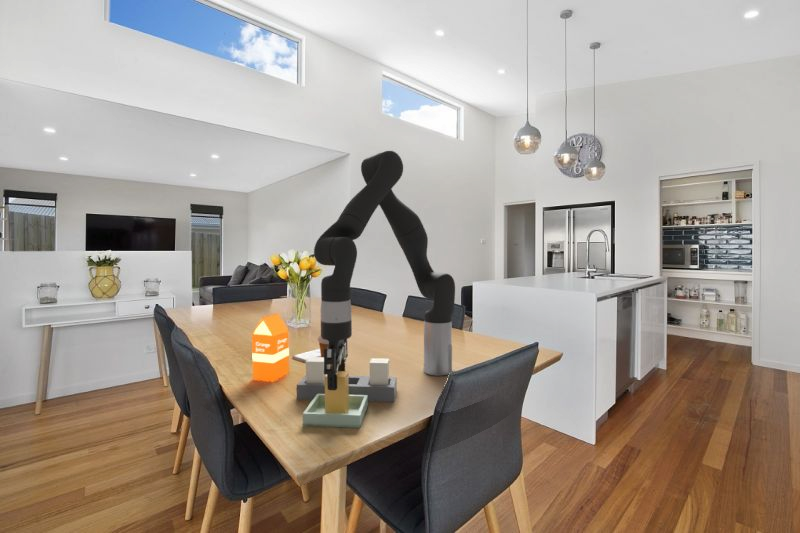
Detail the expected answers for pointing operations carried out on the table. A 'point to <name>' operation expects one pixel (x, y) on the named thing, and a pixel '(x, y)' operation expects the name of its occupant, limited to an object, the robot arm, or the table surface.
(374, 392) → the rack
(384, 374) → the fuse
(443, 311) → the robot arm
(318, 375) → the fuse
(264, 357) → the orange juice
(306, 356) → the external hard drive
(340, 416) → the tray
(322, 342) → the disposable coffee cup
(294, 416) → the table surface
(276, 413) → the table surface
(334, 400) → the tan rectangular block
